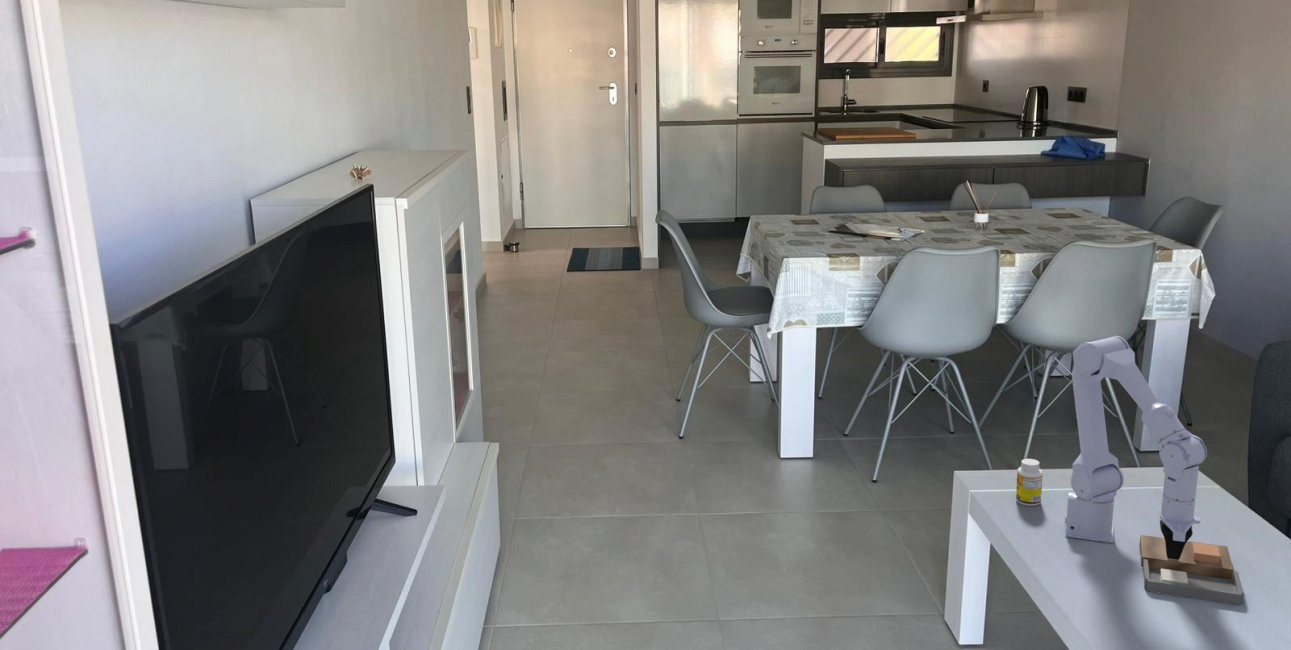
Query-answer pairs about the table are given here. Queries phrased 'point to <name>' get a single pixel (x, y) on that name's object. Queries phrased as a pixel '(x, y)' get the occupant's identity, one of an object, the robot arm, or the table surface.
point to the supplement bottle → (1029, 483)
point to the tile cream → (1173, 576)
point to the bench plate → (1184, 559)
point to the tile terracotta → (1205, 553)
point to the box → (1196, 586)
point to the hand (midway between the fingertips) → (1172, 557)
